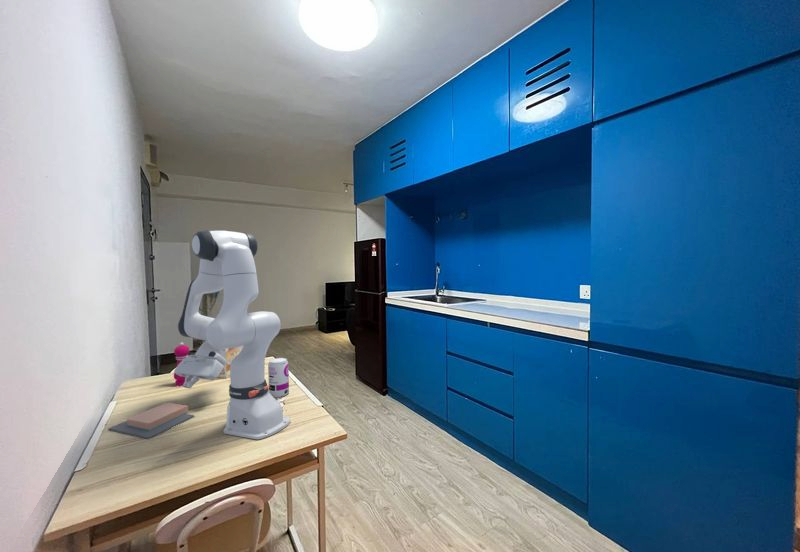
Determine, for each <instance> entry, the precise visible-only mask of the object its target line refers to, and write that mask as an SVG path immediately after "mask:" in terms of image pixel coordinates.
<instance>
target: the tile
mask: <svg viewBox="0 0 800 552" xmlns="http://www.w3.org/2000/svg"><path fill="white" fill-rule="evenodd" d="M184 414H189V405H185V404H179V403H174V402H165V403H162V404H160V405H157V406H155V407H152V408H150V409H148V410H146V411H142V412H141V413H138V414H135V415H133V416H131V417H129V418H126V421H127V426H130V427H135V428H139V429H144V430H149V431H150V430H152V429H154V428H156V427H158V426H160V425H162V424H165V423H167V422H169V421H171V420H173V419H175V418H177V417H179V416H182V415H184Z"/></svg>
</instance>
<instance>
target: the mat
mask: <svg viewBox="0 0 800 552" xmlns="http://www.w3.org/2000/svg"><path fill="white" fill-rule="evenodd" d="M194 418H195V415H194V414H191V413H186V414H184V415H182V416H179V417H177V418H175V419H173V420H171V421H169V422H167V423H165V424H162V425H160V426H158V427H156V428H154V429H152V430H150V431H149V430H144V429H139V428H135V427H130V426H127V420H125V421H123V422H121V423H117V424H115V425H113V426H111V427H109V428H108V431H112V432H117V433H121V434H123V435H124V434H125V435H128V434H129V436H133V437H137V438H140V439H141V438H142V439H147V440H151V439H152V438H155V437H157V436H159V435H160V434H163V433H164V432H167V431H168V430H171V429H172V427H173V428H175V427H177V426H179V425H181V424H184V423H185V422H187V421H189V420H191V419H194ZM178 424H179V425H178ZM176 425H177V426H176ZM174 426H175V427H174Z"/></svg>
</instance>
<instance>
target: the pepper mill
mask: <svg viewBox="0 0 800 552" xmlns="http://www.w3.org/2000/svg"><path fill="white" fill-rule="evenodd" d="M173 353H174V355H175V360H176V367H177V366H178V365H179V364H180V362H181V361H182V360H183V359H184V358H186V357H188V356H189V353H190V348H189V346H188V345H185V344H184V342H183V341H182V342H179V345H178V346H177V347H175V348H174V351H173ZM173 379H175V382H174V385H175V386H176V387H183V384H184V383H185V377H184V376H179V375H177V374H175V373H174V372H173ZM190 381H191V380H190Z"/></svg>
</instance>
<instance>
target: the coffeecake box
mask: <svg viewBox="0 0 800 552" xmlns="http://www.w3.org/2000/svg"><path fill="white" fill-rule="evenodd" d="M243 346H244V345H243ZM243 346H239V347H235V348H230V349H223V351H222V354H221V356H222V357H223V358H225V359H226V360H227V362H226V364H225V365H223V369H222V371H221V373H220V374H219V376H218V377H217V378H218V379H228V377H229V378H230V364H231V362H232V360H233V359H234V358H235V357H236V356H237V355H238V354H239V353H240V352H241V350H242V348H243ZM217 378H216V379H217Z"/></svg>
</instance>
